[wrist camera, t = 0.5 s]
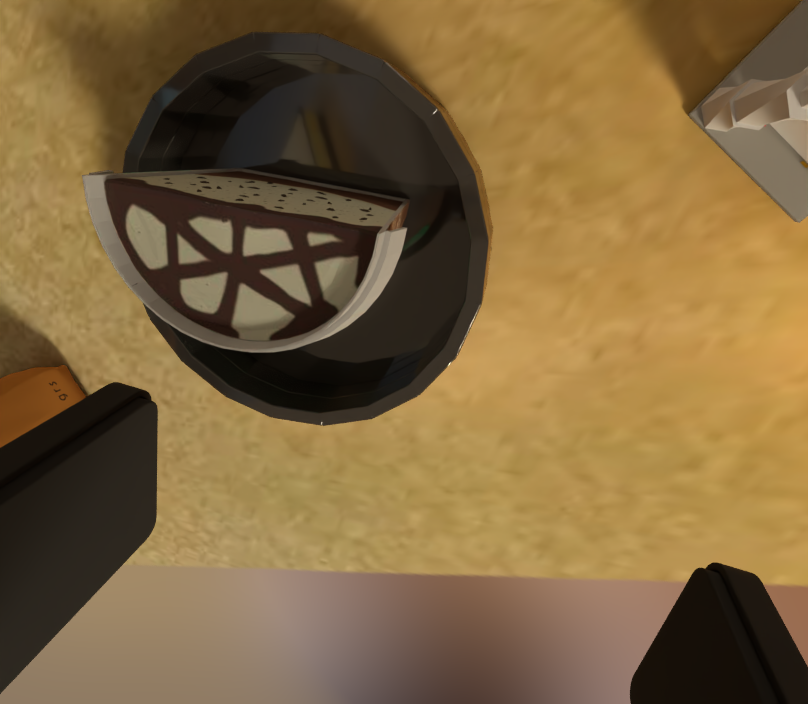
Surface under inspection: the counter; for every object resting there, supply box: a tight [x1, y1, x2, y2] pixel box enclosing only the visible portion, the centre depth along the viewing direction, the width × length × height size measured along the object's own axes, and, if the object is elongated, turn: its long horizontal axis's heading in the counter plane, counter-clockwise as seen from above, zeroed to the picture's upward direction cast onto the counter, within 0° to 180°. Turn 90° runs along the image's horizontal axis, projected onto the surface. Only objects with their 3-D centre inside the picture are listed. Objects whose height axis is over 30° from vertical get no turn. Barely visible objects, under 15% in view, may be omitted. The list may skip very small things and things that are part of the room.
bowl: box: [123, 32, 493, 426], centre depth 27 cm, size 19×19×4 cm
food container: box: [82, 168, 410, 352], centre depth 24 cm, size 12×6×10 cm, turn 81°
